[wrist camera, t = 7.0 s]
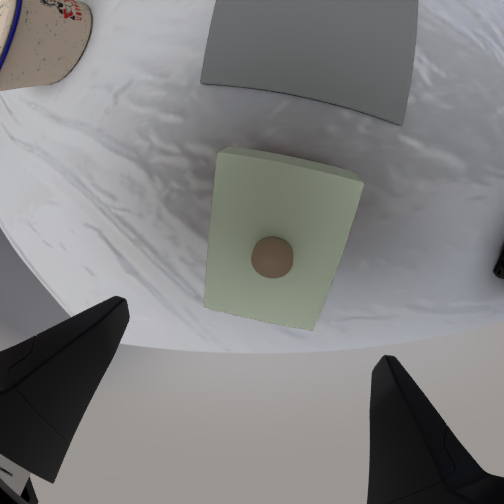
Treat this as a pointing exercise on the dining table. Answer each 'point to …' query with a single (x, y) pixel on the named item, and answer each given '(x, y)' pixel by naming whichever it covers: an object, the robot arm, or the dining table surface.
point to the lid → (276, 235)
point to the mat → (317, 51)
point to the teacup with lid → (40, 40)
